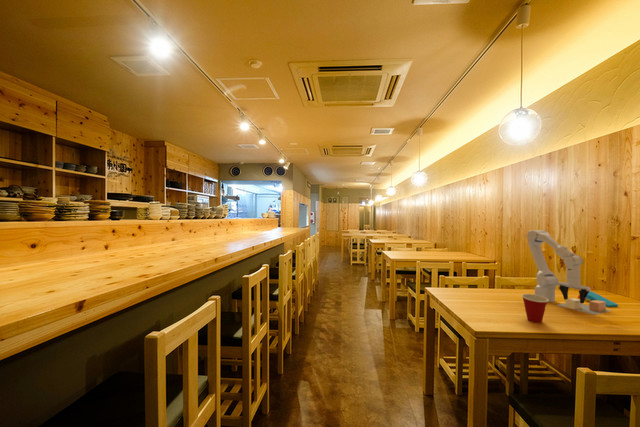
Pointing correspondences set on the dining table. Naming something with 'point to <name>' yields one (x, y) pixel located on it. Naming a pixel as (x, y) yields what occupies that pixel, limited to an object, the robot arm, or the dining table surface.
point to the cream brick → (573, 303)
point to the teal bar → (600, 299)
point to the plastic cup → (534, 307)
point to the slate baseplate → (585, 309)
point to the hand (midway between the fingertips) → (573, 301)
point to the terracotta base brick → (597, 305)
